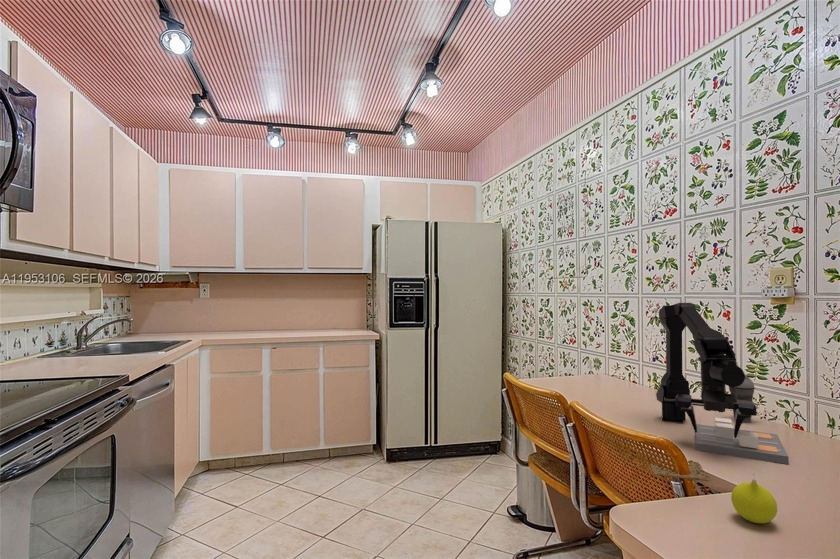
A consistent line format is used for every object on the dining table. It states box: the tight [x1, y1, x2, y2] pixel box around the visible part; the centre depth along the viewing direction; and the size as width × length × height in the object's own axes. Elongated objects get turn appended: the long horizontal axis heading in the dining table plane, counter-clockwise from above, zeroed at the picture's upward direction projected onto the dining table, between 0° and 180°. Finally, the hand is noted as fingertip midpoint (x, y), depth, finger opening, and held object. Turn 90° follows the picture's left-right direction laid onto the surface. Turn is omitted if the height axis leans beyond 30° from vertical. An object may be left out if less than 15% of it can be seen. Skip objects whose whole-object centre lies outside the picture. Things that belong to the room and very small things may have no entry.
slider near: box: [738, 431, 758, 449], centre depth 118 cm, size 4×4×3 cm
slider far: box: [714, 417, 733, 426], centre depth 131 cm, size 4×4×3 cm
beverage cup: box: [728, 361, 756, 424], centre depth 147 cm, size 7×7×20 cm
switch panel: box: [695, 423, 790, 465], centre depth 124 cm, size 20×20×2 cm
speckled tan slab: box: [649, 460, 710, 482], centre depth 109 cm, size 12×12×1 cm
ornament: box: [730, 473, 778, 524], centre depth 84 cm, size 7×7×10 cm
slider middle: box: [715, 423, 734, 439], centre depth 126 cm, size 4×4×3 cm
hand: (715, 434), depth 122 cm, fingers open, 9 cm apart
